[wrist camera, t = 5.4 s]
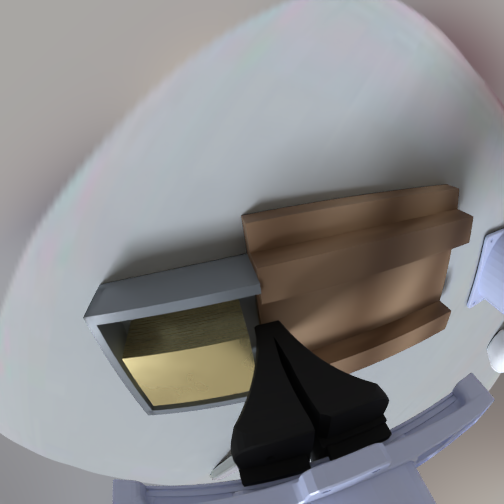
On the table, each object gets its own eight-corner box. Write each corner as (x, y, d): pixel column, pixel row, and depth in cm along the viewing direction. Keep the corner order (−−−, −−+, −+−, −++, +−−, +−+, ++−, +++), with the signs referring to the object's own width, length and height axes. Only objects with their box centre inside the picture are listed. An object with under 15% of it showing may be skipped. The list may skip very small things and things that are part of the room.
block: (238, 298, 14) (249, 337, 11) (249, 350, 16) (260, 388, 13) (131, 320, 13) (122, 358, 11) (156, 367, 15) (153, 405, 12)
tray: (247, 253, 14) (259, 283, 11) (264, 361, 17) (275, 394, 14) (99, 284, 13) (83, 317, 10) (150, 381, 16) (148, 415, 14)
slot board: (446, 184, 14) (475, 195, 12) (422, 322, 20) (440, 341, 17) (241, 215, 13) (252, 235, 10) (267, 378, 18) (277, 407, 16)
